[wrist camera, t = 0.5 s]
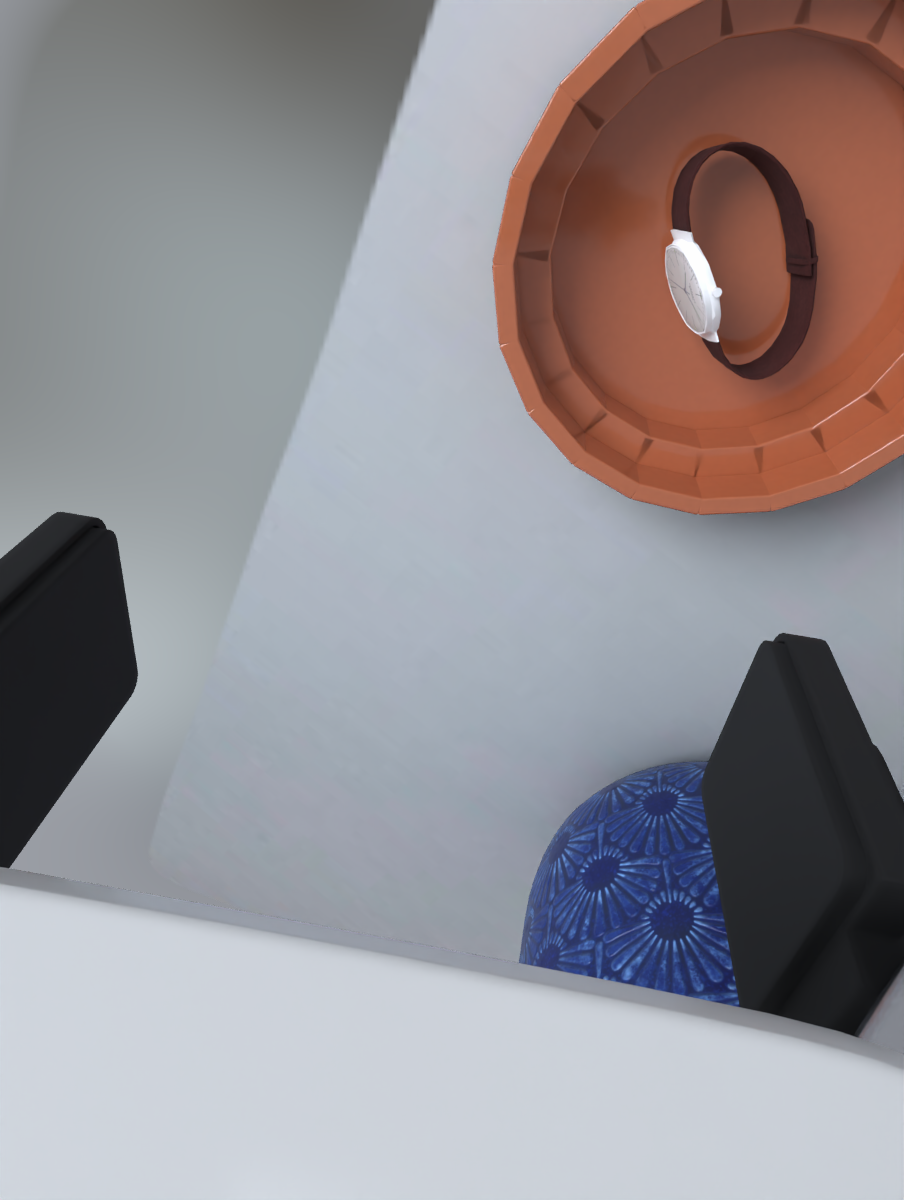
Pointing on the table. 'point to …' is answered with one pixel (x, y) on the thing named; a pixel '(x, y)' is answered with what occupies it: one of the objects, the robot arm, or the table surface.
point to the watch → (696, 280)
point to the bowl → (714, 253)
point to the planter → (634, 890)
